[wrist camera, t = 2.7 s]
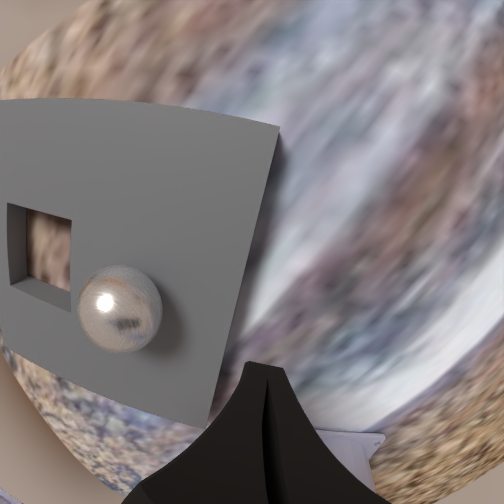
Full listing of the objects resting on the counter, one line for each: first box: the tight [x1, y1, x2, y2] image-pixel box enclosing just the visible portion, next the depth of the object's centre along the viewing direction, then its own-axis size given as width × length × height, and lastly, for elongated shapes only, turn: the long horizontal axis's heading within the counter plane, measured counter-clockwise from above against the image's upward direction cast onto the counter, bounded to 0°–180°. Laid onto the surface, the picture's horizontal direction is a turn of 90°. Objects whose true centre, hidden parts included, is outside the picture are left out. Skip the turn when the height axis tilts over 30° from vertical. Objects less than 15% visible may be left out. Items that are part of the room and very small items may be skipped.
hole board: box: [0, 98, 280, 429], centre depth 15 cm, size 18×17×2 cm
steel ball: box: [77, 265, 163, 354], centre depth 13 cm, size 4×4×4 cm
